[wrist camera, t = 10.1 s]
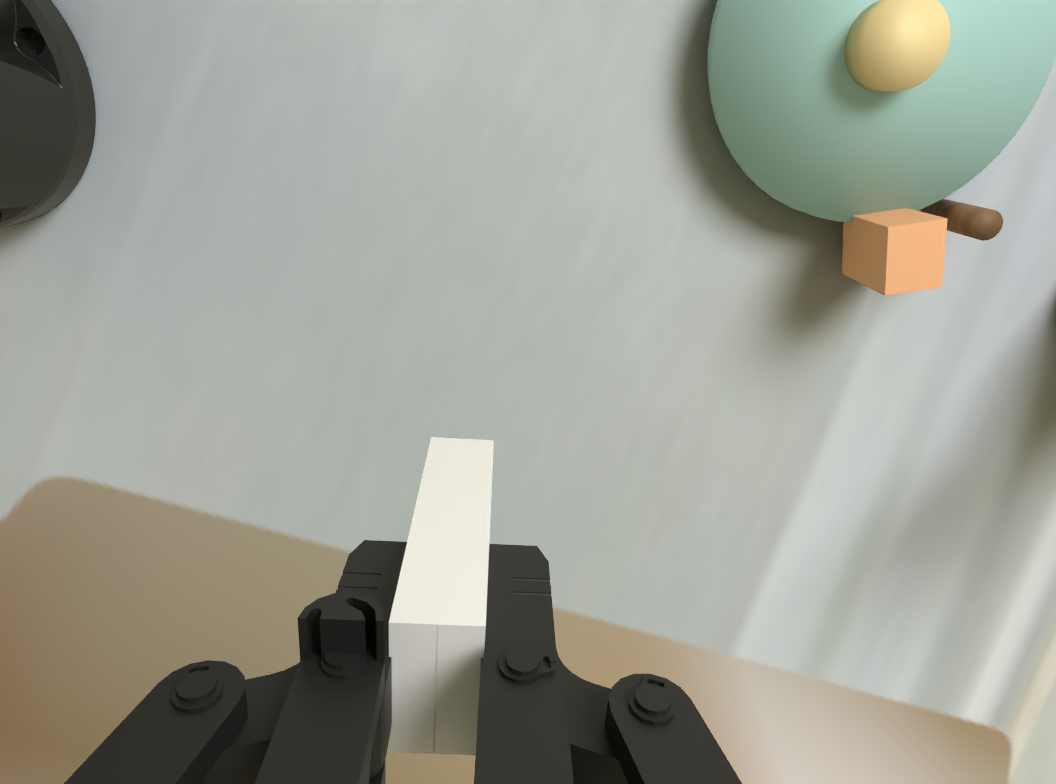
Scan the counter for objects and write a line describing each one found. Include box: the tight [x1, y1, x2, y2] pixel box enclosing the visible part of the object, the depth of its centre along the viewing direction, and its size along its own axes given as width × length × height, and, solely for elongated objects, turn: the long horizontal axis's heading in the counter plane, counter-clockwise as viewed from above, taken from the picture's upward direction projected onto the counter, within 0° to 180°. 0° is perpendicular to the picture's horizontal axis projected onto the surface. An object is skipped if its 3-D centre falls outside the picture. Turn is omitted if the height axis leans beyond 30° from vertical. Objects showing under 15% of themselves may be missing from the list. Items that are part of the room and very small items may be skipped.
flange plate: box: [707, 0, 1056, 295], centre depth 36 cm, size 18×21×5 cm
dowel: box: [922, 199, 1003, 240], centre depth 40 cm, size 2×2×5 cm
